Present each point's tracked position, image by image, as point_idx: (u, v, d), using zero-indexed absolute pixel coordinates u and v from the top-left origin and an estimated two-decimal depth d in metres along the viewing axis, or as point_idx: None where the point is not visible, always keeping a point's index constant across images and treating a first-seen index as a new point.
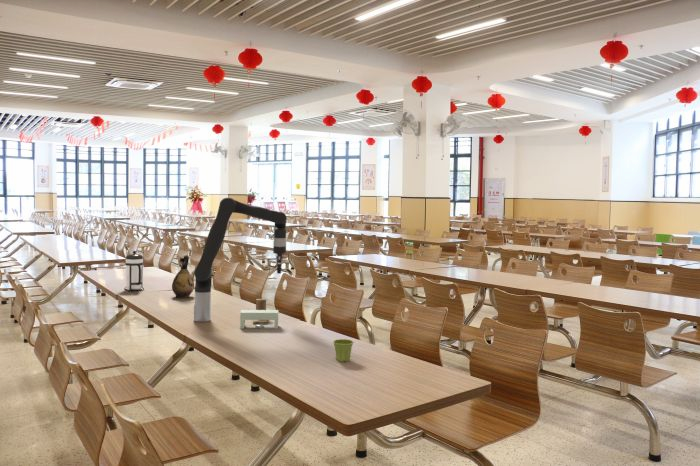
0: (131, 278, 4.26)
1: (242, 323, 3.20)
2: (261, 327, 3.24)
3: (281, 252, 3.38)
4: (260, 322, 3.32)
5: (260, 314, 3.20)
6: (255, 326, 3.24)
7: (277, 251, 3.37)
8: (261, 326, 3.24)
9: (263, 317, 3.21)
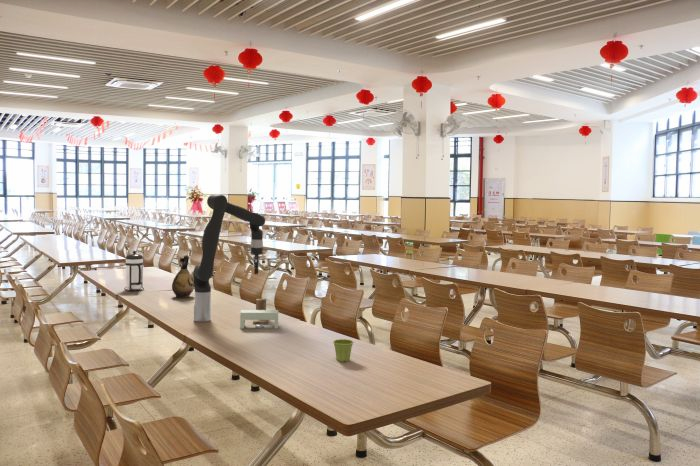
0: (131, 278, 4.26)
1: (242, 323, 3.20)
2: (261, 327, 3.24)
3: (258, 253, 3.57)
4: (260, 322, 3.32)
5: (260, 314, 3.20)
6: (255, 326, 3.24)
7: (254, 252, 3.57)
8: (261, 326, 3.24)
9: (263, 317, 3.21)
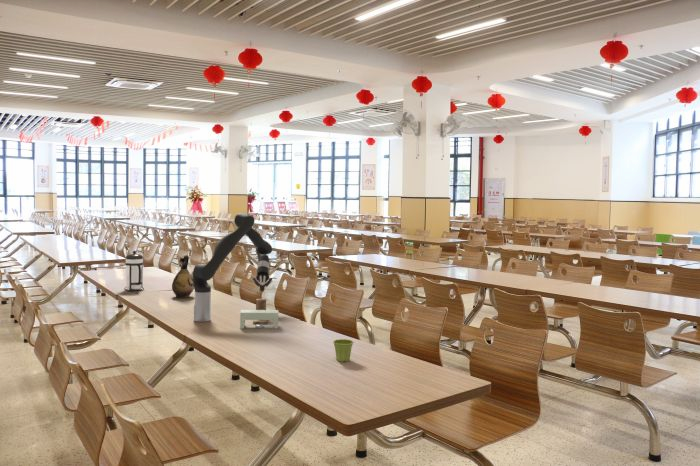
0: (131, 278, 4.26)
1: (242, 323, 3.20)
2: (261, 327, 3.24)
3: None
4: (260, 322, 3.32)
5: (260, 314, 3.20)
6: (255, 326, 3.24)
7: (268, 272, 3.67)
8: (261, 326, 3.24)
9: (263, 317, 3.21)
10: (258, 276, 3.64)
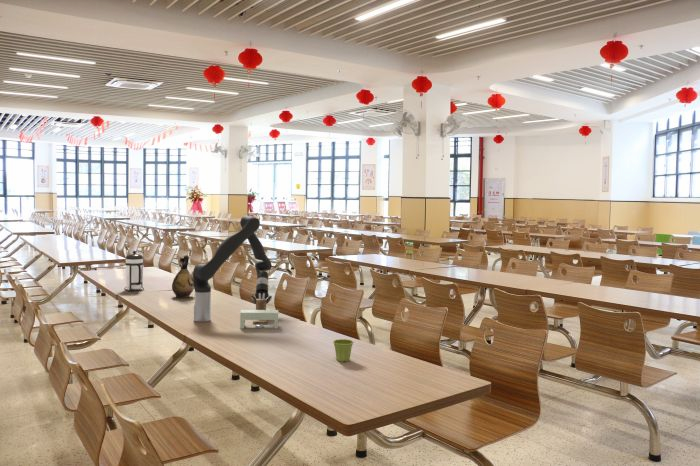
0: (131, 278, 4.26)
1: (242, 323, 3.20)
2: (261, 327, 3.24)
3: None
4: (260, 322, 3.32)
5: (260, 314, 3.20)
6: (255, 326, 3.24)
7: (267, 289, 3.56)
8: (261, 326, 3.24)
9: (263, 317, 3.21)
10: (257, 294, 3.53)
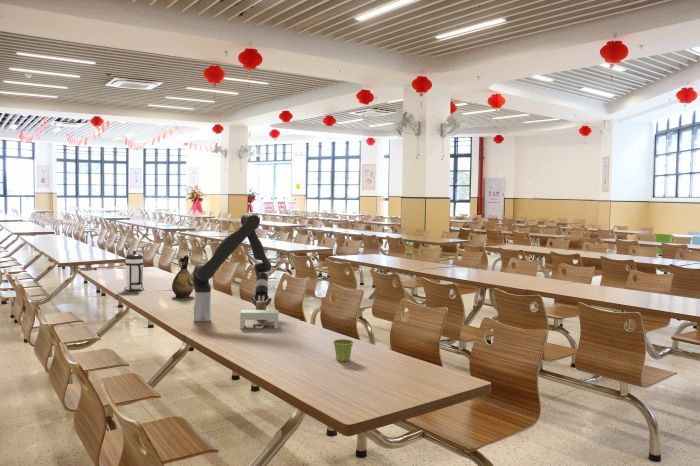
0: (131, 278, 4.26)
1: (242, 323, 3.20)
2: (261, 328, 3.20)
3: None
4: None
5: (260, 314, 3.20)
6: (255, 327, 3.21)
7: (267, 291, 3.49)
8: (261, 327, 3.20)
9: (263, 317, 3.21)
10: (256, 296, 3.46)
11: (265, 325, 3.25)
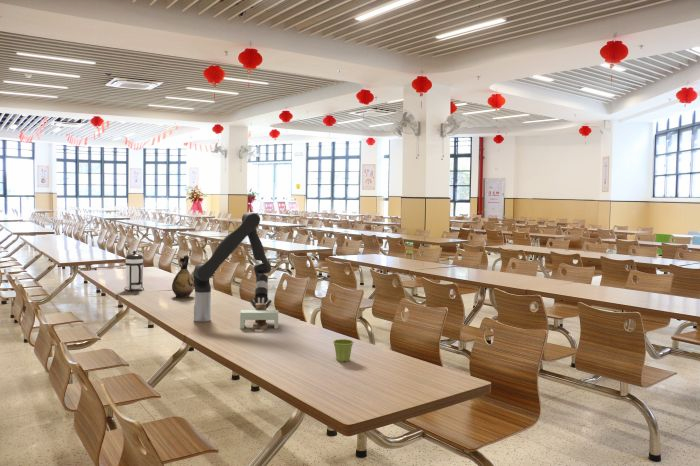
0: (131, 278, 4.26)
1: (242, 323, 3.20)
2: (260, 331, 3.13)
3: None
4: None
5: (260, 314, 3.20)
6: (254, 330, 3.14)
7: (267, 293, 3.42)
8: (260, 330, 3.13)
9: (263, 317, 3.21)
10: (256, 298, 3.39)
11: (265, 328, 3.18)
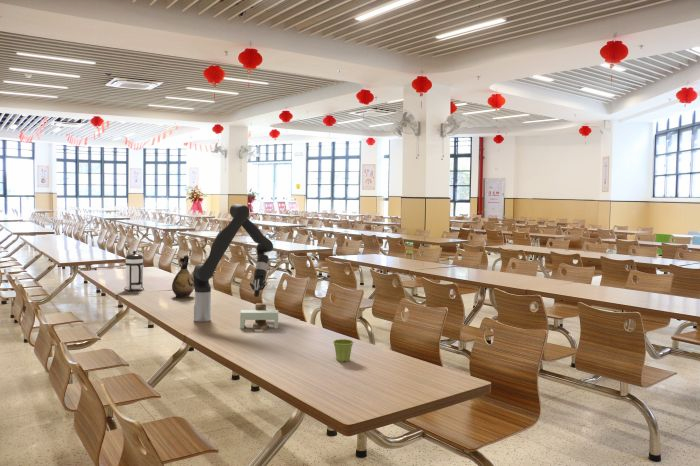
0: (131, 278, 4.26)
1: (242, 323, 3.20)
2: (260, 331, 3.13)
3: (265, 276, 3.55)
4: None
5: (260, 314, 3.20)
6: (254, 330, 3.14)
7: (263, 274, 3.54)
8: (260, 330, 3.13)
9: (263, 317, 3.21)
10: (254, 280, 3.56)
11: (265, 328, 3.18)
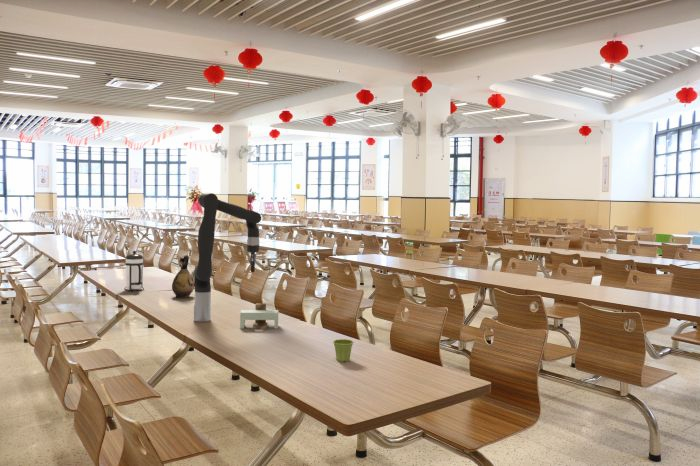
0: (131, 278, 4.26)
1: (242, 323, 3.20)
2: (260, 331, 3.14)
3: (254, 250, 3.51)
4: None
5: (260, 314, 3.20)
6: (254, 330, 3.14)
7: (250, 249, 3.51)
8: (260, 330, 3.13)
9: (263, 317, 3.21)
10: None
11: (265, 328, 3.18)
